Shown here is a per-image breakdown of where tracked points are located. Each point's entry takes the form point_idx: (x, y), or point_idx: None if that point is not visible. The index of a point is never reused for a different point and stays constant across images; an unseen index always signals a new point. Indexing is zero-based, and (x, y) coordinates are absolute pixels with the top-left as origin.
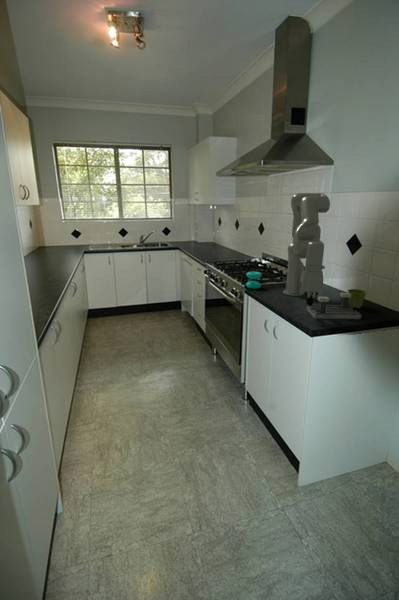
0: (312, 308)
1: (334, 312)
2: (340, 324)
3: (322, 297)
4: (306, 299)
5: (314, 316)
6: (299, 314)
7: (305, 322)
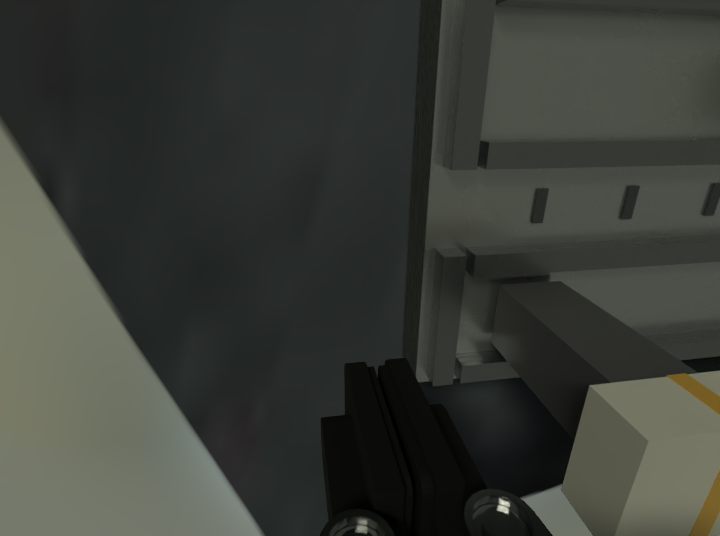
0: (470, 167)
1: (676, 277)
2: (564, 450)
3: (703, 486)
4: (327, 478)
5: (408, 342)
6: (252, 227)
7: (270, 459)
